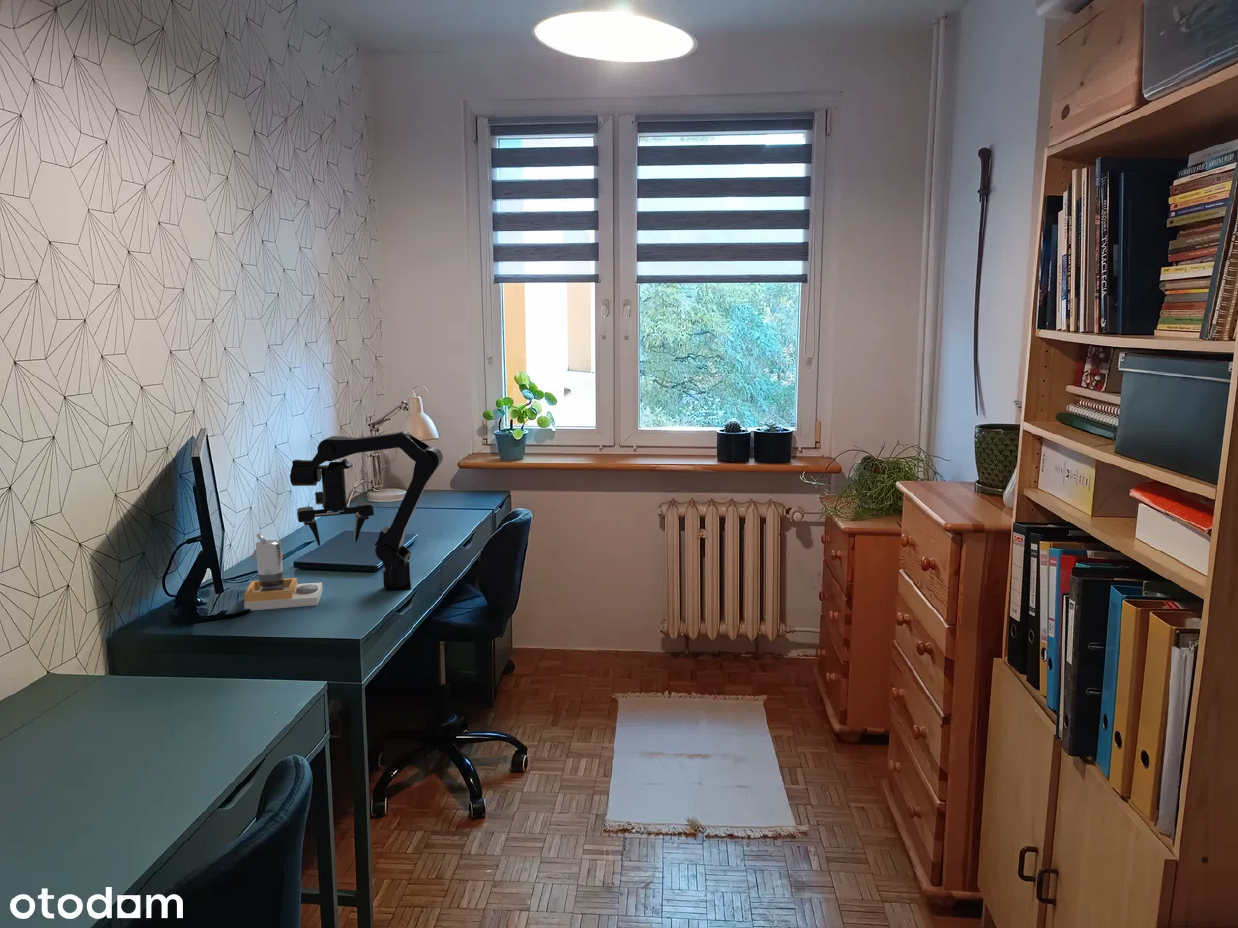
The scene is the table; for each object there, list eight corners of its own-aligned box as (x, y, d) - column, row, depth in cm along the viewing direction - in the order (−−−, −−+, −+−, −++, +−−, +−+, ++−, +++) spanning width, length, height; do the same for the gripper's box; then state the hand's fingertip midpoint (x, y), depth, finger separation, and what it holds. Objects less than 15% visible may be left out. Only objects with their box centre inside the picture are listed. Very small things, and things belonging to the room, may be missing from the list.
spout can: (288, 589, 227) (284, 530, 225) (277, 596, 221) (273, 536, 219) (266, 588, 228) (262, 530, 225) (255, 596, 222) (250, 536, 219)
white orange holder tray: (322, 589, 234) (321, 574, 233) (317, 605, 221) (316, 589, 221) (253, 594, 230) (252, 579, 229) (244, 610, 217) (243, 595, 217)
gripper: (366, 477, 241) (369, 533, 244) (293, 483, 234) (297, 540, 237) (372, 484, 231) (375, 542, 234) (296, 490, 224) (300, 550, 227)
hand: (337, 543), depth 233 cm, fingers open, 9 cm apart
